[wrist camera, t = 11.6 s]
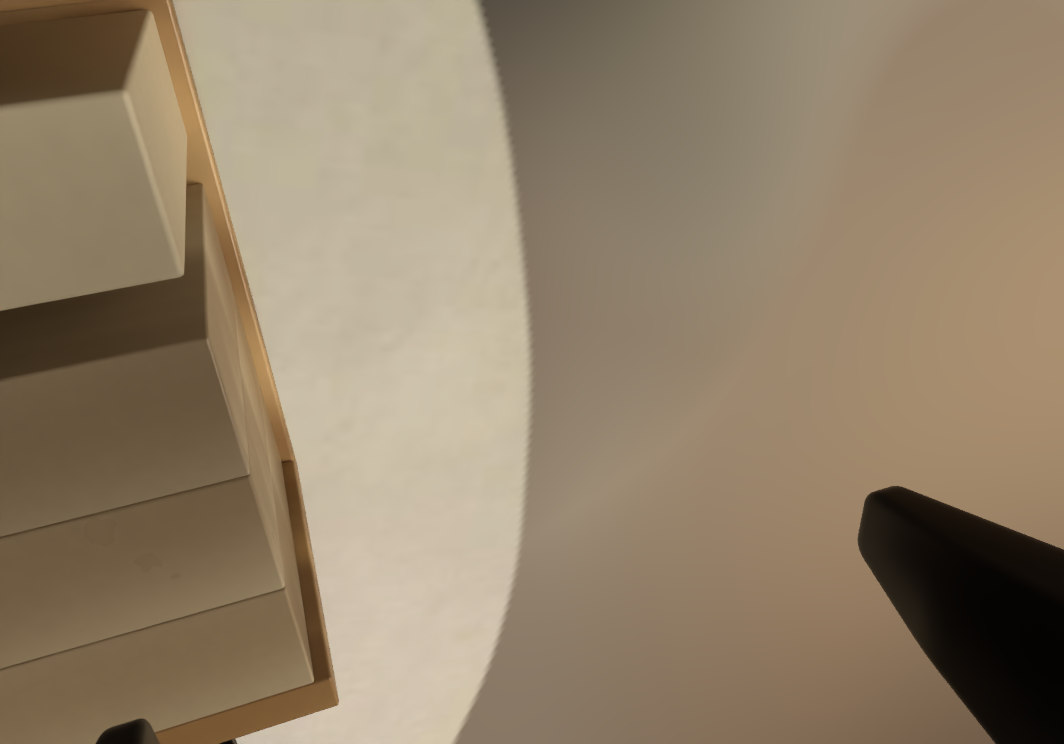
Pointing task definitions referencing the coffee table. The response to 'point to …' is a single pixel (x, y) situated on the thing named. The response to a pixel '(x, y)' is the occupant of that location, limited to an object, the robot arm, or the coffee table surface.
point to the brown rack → (152, 491)
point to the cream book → (88, 159)
